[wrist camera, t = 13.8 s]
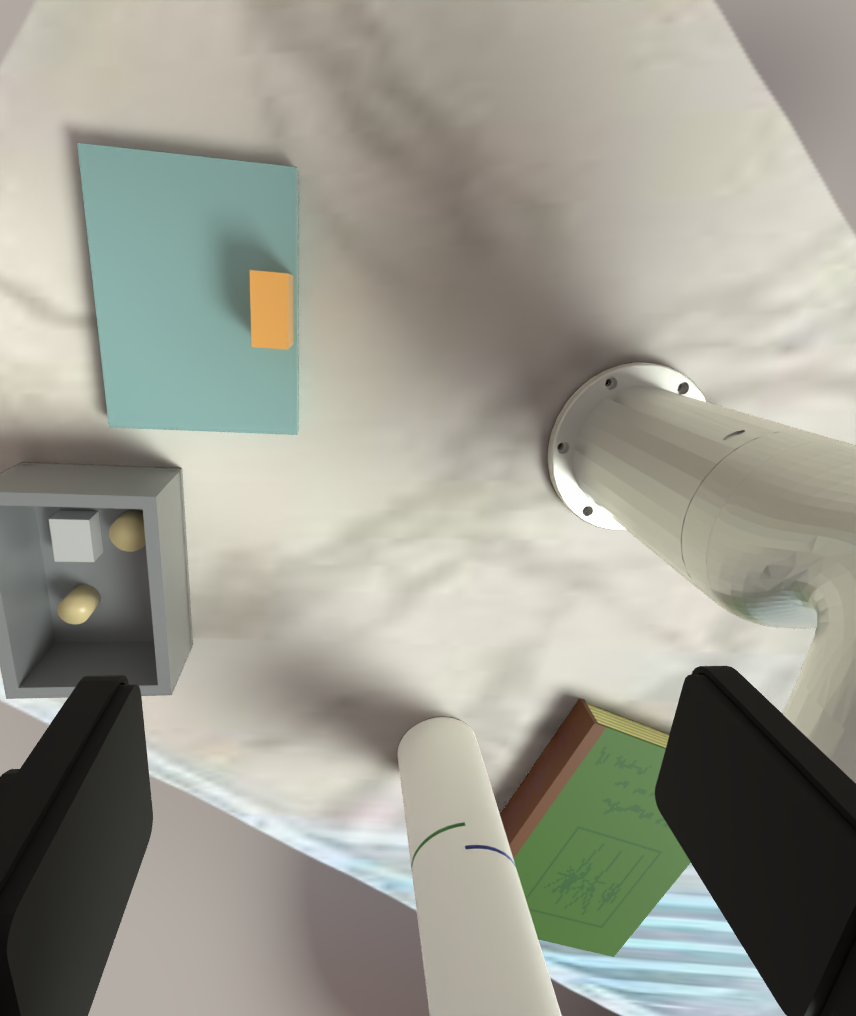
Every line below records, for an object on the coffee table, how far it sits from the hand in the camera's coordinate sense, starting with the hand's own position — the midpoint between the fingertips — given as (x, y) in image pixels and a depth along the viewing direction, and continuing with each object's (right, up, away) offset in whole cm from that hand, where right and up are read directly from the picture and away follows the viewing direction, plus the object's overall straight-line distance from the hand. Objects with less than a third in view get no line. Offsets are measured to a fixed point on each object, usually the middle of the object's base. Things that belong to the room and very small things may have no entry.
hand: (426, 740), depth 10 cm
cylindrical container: (+1, -17, +42) cm, 45 cm away
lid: (-14, +17, +26) cm, 34 cm away
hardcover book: (+16, -27, +48) cm, 57 cm away
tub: (-22, 0, +31) cm, 38 cm away
